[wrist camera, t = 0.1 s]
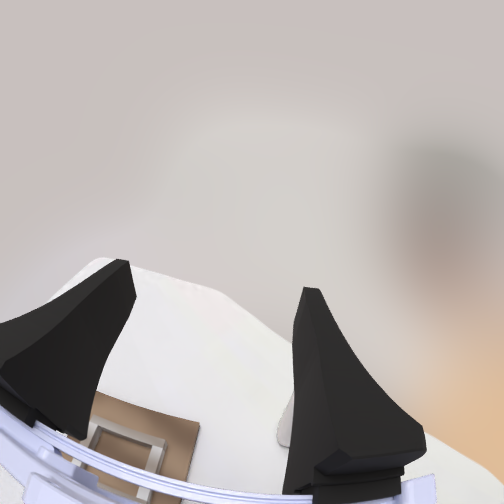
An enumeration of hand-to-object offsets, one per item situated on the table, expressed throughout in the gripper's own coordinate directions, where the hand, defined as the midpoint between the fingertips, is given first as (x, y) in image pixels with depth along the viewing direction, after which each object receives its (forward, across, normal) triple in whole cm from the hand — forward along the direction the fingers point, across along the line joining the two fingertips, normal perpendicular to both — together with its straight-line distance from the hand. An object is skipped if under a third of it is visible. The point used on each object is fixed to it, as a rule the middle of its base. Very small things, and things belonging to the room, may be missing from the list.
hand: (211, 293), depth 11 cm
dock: (-6, +9, +21) cm, 24 cm away
